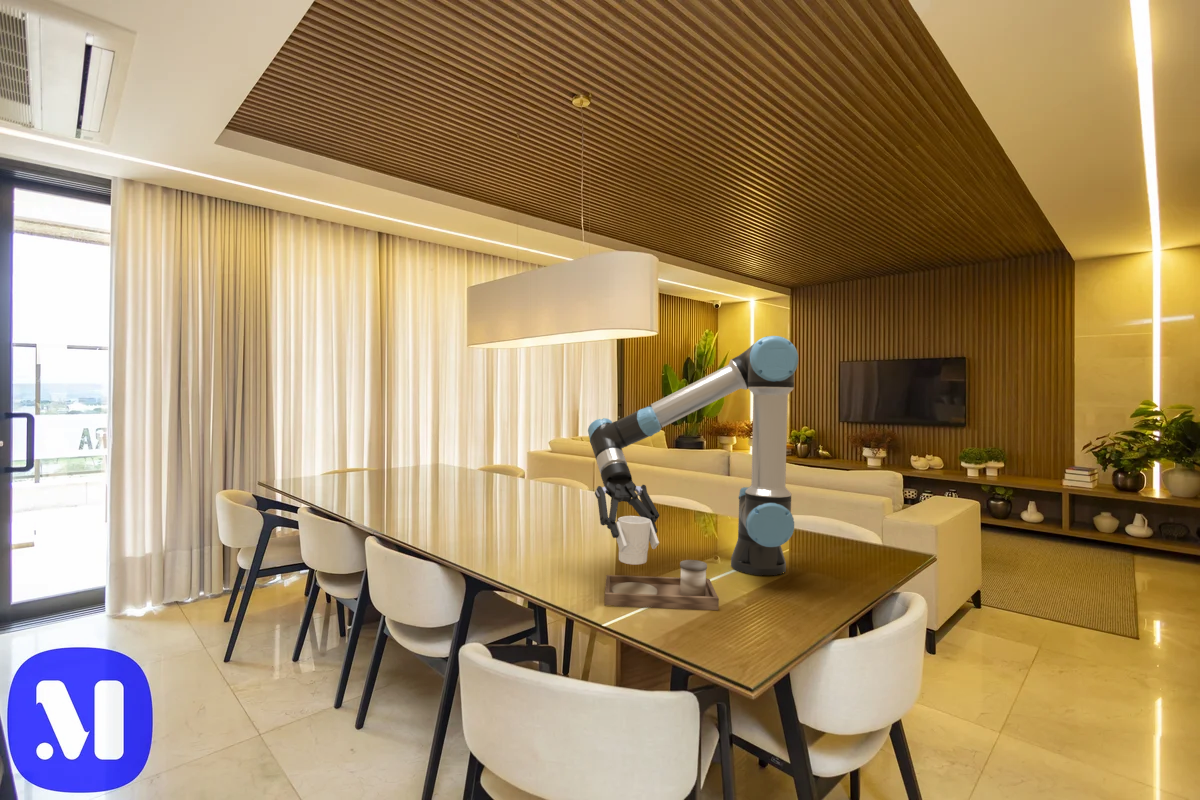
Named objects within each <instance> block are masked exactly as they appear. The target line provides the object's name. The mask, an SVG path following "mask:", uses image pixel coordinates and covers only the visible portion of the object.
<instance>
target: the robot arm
mask: <svg viewBox="0 0 1200 800" xmlns="http://www.w3.org/2000/svg"><path fill="white" fill-rule="evenodd" d="M798 365H799V353H798V351H797V348H796V346H795V345H794V344H793V343H792V342H791V341H790V340H789V339H787V338H786V337H783V336H779V335H767V336H764V337H761V338H760V339H758V340H757V341H756V342H755V343H753V344H752V345H751V346H750V347H748V348H747V349H746V350H744V351H743V352H742V353H740V354H739V355H737V356H735V357H733V358H732V359H729V363H728V364H727V365H725V366H724V367H722V368H719V369H718V370H716V371H714V372H712V373H710V374H707V375H706V376H704V377H701V378H700V379H698V380H696V381H694V382H692V383H690V384H688V385H687V386H684V387H682V388H680V389H678V390H677V391H675V392H672V393H671V394H667V396H664V397H662V398H660V399H659V400H657V401H654V402H653V403H650V405H646V406H645V407H643V408H640V409H639V410H636V411H635V412H632V413H630V414H629V415H627V416H624V417H622V418H620V419H617V420H616V421H612V420H611V419H609V418H605V417H603V418H602V419H601V418H596V419H595V420H593V421H592V422H590V425H588V428H587V433H588V438H589V443H590V445H591V449H592V452H593V454H594V457H595V460H596V465H597V468H598V470H599V473H600V478H601V480H602V484H603V487H602V486H600V485H598V486H597V487H596V490H595V491H594V495H595V497H596V499H597V504H598V513H599V521H600V522H599V523H600V525H601V526H606V528H607V529H608V530H610V533H611V536H612V538H613V539H616V542H617V545H618V546H619V547H618V551H619V550H620V552H623V551H624V549H625V548H626V546H627V544H626V541H625V538H624V535H623V532H622V529H621V525H620V523H619V522H618V521H616V520H617V515H618V514H617V513H618V507H619V503H620V502H626V503H627V504H628V505H629V506H631V507H632V508H633V509H634V510H635V512H636V513H637V514H638V515H639V517H645V518H648V519H650V520H651V523H650V536H649V544H650V546H651V549H652V550H655V549H657V546H659V544H660V541H659V538H658V536H657V533H658V529H657V526H656V522H657V520H658V519H659V517H660V513H659V511H658V510H657V507H656V506H655V504H654V502H653V500H652V499H651V497H650V495H649V493H648V489H647V485H646V484H642V485H641V486H640V485H639V486H638V485H636V484H635V483H634V482H633V478H632V474H631V471H630V468H629V465H628V462H627V460H626V459H627V458H626V457H625V454H624V451H623V449H624V448H627V447H628V446H630V445H633V444H635V443H638V442H640V441H643V440H645V439H646V438H650V437H653V436H654V435H655V434H657V433H659V432H661V430H662V428H664V427H666V426H668V425H670V424H672V423H674V422H676V421H678V420H680V419H682V418H684V417H686V416H689V415H690V414H692V413H695V412H696V411H699V410H700V409H702V408H705V407H706V406H708V405H710V404H712V403H714V402H716V401H718V400H720V399H722V398H724V397H726V396H728V395H730V394H733V393H734V392H736V391H738V390H740V389H742V390H746V391H747V390H749V391H750V392H751V393H752V395H753V402H752V403H753V405H752V409H753V410H752V443H751V444H752V446H751V449H752V450H751V485H750V486H748V487H747V486H746V487H744V486H743V487H741V488H740V490H739V495H738V523H737V524H738V525H737V526H738V527H737V528H738V529H737V532H738V534H737V540H736V544H735V547H734V549H733V552H732V554H731V558H730V567H731V568H732V567H733V568H732V569H734V570H736V571H738V570H739V571H738V572H740V571H742V572H741V573H744V572H745V573H744V574H748V573H749V574H748V575H753V574H754V575H755V576H762V575H774V576H778V575H777V574H780V575H782V574H781V573H783V572H785V573H786V572H787V571H786V570H787V568H786V567H787V562H786V559H785V556H784V551H783V549H782V545H784V544H786V543H787V542H788V541H789V540H790V539H791V538H792V536H793V534H794V532H795V531H794V530H795V521H794V516H793V514H792V493H791V492H790V490H789V489H788V488H787V487H786V478H787V477H786V476H787V473H786V472H787V438H788V437H787V436H788V431H787V430H788V402H789V401H788V400H789V399H788V398H789V397H788V396H789V394H790V393H791V392H792V391H793V390H794V389H795V372H796V370H797V368H798ZM606 495H608V496H609V497H610V509H609V515H608V508H607V506H608V505H607V499H606V498H607V497H606ZM783 574H784V573H783ZM754 575H753V576H754Z"/></svg>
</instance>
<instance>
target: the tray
mask: <svg viewBox="0 0 1200 800" xmlns="http://www.w3.org/2000/svg"><path fill="white" fill-rule="evenodd" d="M679 567H680V577H671V576H649V575H648V576H647V575H645V576H643V575H621V574H619V575H618V574H617V575H616V574H606V576H605V586H604V587H605V588H604V606H605V605H614V606H613V607H625V606H630V607H629V608H650V607H651V608H655V609H676V610H677V609H679V610H680V609H681V610H701V611H702V610H704V611H705V610H707V611H719V605H720V604H719V602H720V601H719V600H720V598H719V596H718V594H717V592H716V590H715V588H714V586H713V584H712V581H711V579H710V578H707V569H708V563H707V562H705V561H702V560H697V559H685V560H682V561H680V562H679Z"/></svg>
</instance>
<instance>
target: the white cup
mask: <svg viewBox="0 0 1200 800" xmlns="http://www.w3.org/2000/svg"><path fill="white" fill-rule="evenodd" d="M617 522H619V523H620V525H621V529H622V532H623V535H624V538H625V541H626V544H627V546H626V548H625V549H624V551H623V552H620V550H619V549H618V561H619V562H620V563H624V564H627V565H644V564H646V563H647V561H648V551H649V547H650V545H649V544H650V541H649V536H650V523H651V520H650V519H648V518H645V517H641V516H640V515H639V516H637V515H624V516H620V517H618V518H617ZM618 548H619V546H618Z"/></svg>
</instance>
